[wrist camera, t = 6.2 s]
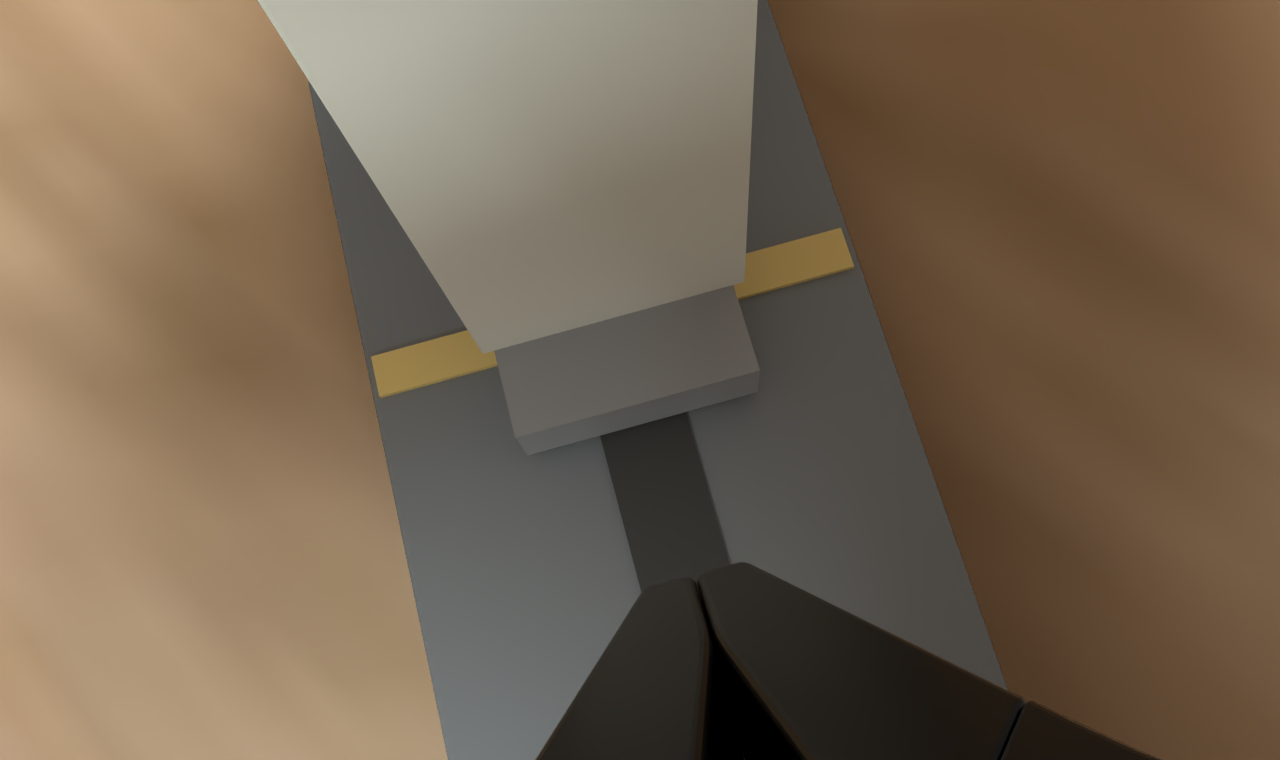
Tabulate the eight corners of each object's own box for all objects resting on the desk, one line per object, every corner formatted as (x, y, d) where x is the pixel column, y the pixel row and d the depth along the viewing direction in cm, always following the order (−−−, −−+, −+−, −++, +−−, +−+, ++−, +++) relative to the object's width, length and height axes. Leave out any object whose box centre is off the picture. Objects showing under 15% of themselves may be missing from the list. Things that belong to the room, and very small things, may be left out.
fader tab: (768, 388, 16) (845, -203, 6) (516, 458, 16) (156, -18, 6) (680, 109, 17) (621, -776, 7) (448, 172, 17) (55, -625, 7)
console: (1077, 954, 15) (1207, 1036, 11) (541, 1104, 15) (473, 1244, 11) (724, -73, 20) (724, -280, 16) (315, 37, 19) (210, -143, 15)
